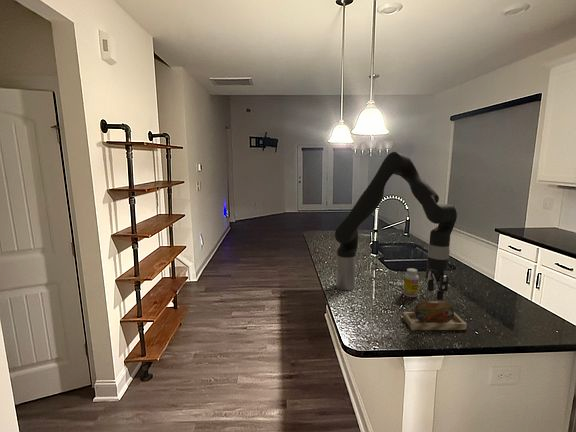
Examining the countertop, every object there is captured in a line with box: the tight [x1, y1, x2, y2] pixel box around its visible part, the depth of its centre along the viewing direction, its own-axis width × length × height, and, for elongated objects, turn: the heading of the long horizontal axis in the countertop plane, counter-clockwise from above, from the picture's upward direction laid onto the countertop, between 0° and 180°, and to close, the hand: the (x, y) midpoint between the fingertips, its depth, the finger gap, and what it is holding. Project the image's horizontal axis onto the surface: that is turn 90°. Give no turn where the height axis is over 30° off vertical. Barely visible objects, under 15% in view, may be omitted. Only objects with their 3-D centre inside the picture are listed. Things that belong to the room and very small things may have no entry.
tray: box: [402, 311, 468, 331], centre depth 130 cm, size 21×10×2 cm, turn 89°
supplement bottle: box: [402, 267, 420, 298], centre depth 157 cm, size 7×7×13 cm
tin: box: [413, 300, 455, 323], centre depth 130 cm, size 15×3×8 cm, turn 89°
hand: (434, 295), depth 128 cm, fingers open, 8 cm apart
